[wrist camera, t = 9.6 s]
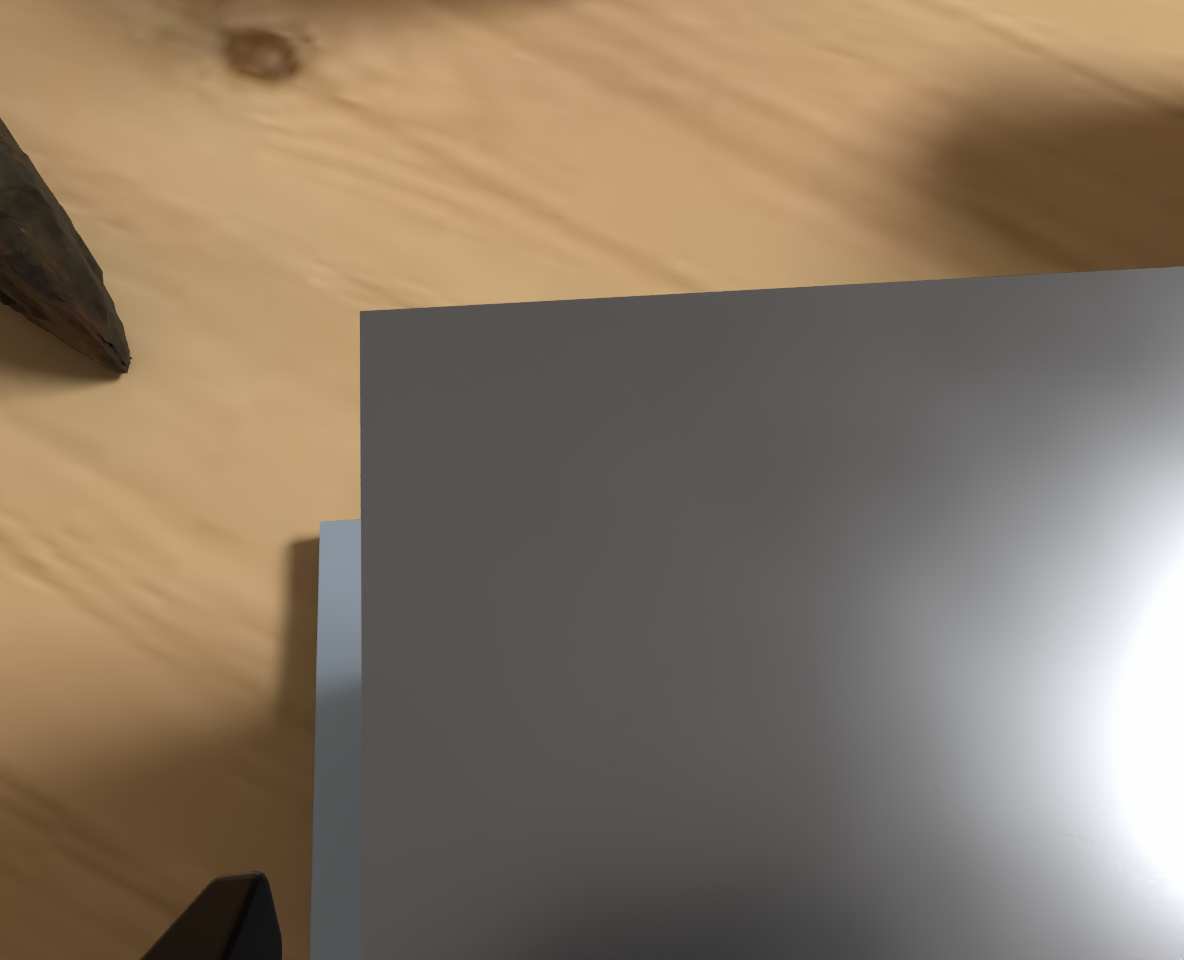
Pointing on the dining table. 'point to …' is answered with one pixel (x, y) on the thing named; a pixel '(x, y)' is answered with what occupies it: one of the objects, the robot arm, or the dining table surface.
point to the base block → (338, 749)
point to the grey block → (777, 624)
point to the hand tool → (52, 265)
